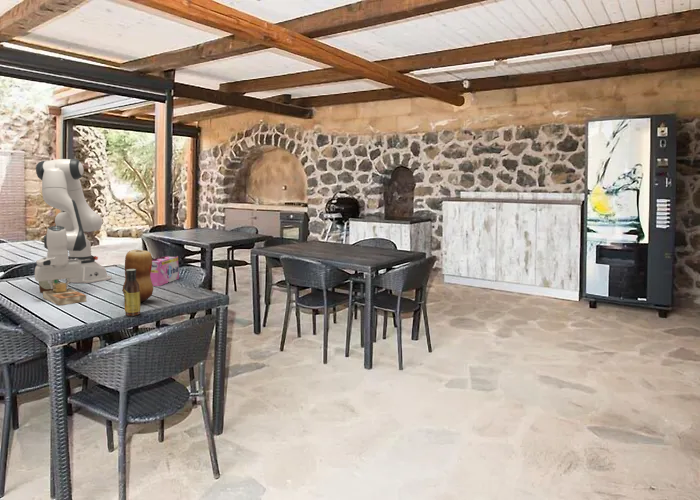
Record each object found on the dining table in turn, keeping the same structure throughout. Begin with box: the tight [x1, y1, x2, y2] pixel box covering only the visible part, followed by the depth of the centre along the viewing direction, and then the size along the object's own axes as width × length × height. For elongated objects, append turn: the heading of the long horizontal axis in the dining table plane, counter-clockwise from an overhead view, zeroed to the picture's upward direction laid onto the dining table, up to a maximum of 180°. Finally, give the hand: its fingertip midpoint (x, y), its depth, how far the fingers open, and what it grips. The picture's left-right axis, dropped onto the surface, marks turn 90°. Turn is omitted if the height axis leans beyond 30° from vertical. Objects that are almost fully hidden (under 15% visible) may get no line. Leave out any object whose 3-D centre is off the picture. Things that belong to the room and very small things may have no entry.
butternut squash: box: [122, 249, 154, 303], centre depth 243 cm, size 14×13×25 cm
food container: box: [37, 279, 60, 294], centre depth 260 cm, size 12×6×10 cm, turn 71°
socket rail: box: [42, 287, 87, 306], centre depth 246 cm, size 12×21×3 cm, turn 47°
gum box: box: [150, 255, 180, 287], centre depth 293 cm, size 24×8×14 cm, turn 170°
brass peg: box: [53, 281, 67, 293], centre depth 250 cm, size 4×4×7 cm
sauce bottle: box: [123, 269, 141, 317], centre depth 221 cm, size 7×6×20 cm
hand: (59, 288), depth 250 cm, fingers closed on brass peg, 4 cm apart
